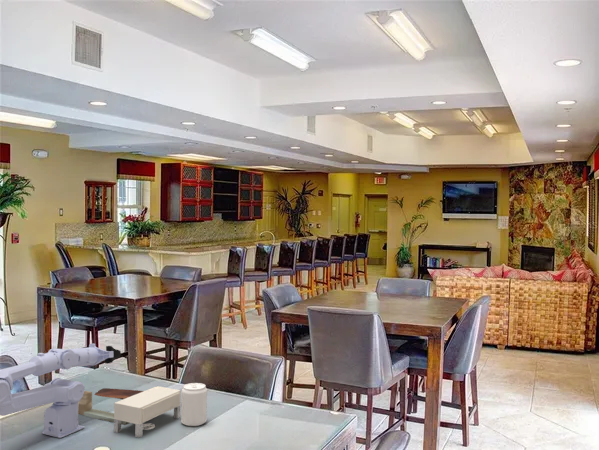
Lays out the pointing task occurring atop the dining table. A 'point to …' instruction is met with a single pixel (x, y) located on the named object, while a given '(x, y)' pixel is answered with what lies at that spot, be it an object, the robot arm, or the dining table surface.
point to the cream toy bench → (146, 407)
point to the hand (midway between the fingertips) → (110, 354)
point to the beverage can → (194, 404)
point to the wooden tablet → (117, 393)
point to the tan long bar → (87, 410)
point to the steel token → (148, 426)
